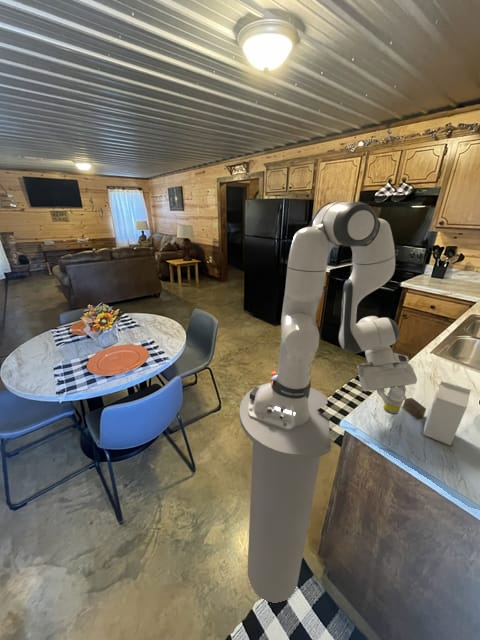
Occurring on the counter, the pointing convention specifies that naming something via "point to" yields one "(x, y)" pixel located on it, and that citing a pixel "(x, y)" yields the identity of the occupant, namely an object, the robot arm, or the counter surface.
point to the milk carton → (446, 412)
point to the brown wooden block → (414, 408)
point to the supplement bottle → (394, 401)
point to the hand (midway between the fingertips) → (395, 401)
